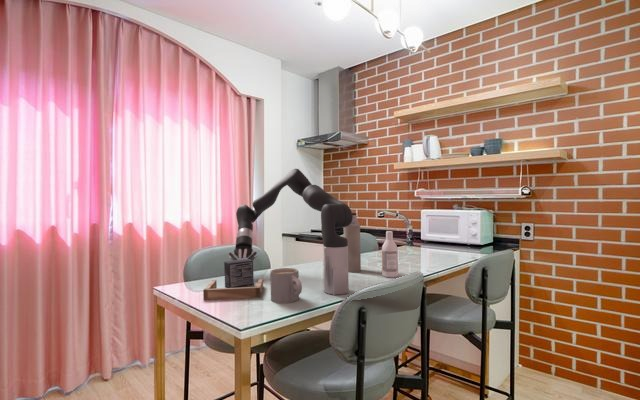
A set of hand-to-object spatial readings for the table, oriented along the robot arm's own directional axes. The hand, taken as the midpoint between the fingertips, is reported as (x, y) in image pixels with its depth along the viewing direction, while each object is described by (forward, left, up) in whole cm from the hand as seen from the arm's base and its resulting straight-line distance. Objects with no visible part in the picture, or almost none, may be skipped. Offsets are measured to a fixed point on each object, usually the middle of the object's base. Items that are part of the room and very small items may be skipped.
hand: (241, 271), depth 153 cm
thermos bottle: (-1, -53, -5) cm, 53 cm away
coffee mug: (-36, -11, -5) cm, 38 cm away
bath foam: (-19, -63, -5) cm, 66 cm away
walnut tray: (-18, +5, -4) cm, 19 cm away
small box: (-8, +2, -5) cm, 9 cm away
